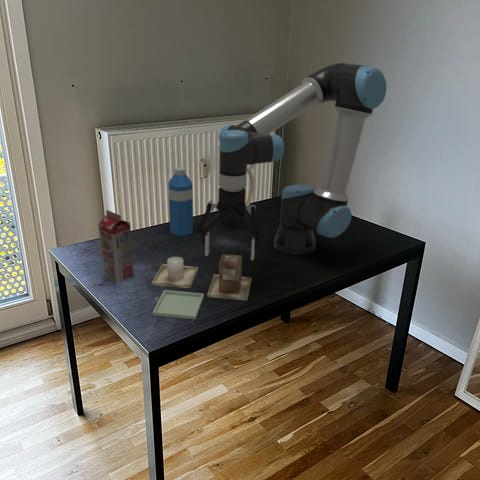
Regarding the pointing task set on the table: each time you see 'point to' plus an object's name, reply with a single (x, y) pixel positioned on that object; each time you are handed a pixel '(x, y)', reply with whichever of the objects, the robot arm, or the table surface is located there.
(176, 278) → the white dome
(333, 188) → the robot arm
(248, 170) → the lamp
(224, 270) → the letter block
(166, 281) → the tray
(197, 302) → the tray
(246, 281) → the tray
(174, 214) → the water bottle
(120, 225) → the juice carton
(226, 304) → the table surface
